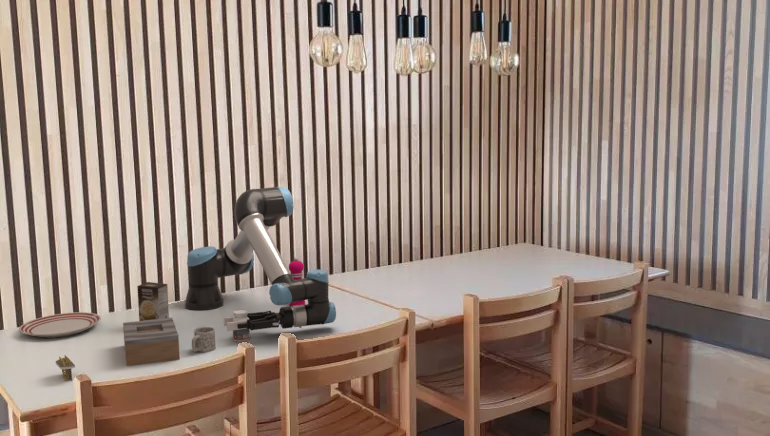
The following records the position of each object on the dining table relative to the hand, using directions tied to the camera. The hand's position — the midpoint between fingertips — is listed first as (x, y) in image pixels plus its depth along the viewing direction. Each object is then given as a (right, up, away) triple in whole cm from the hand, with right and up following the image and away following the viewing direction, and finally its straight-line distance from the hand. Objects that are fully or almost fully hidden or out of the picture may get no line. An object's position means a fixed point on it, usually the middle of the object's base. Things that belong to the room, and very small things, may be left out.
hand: (225, 324), depth 255 cm
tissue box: (-22, -8, -10) cm, 26 cm away
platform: (-41, -12, -32) cm, 53 cm away
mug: (-6, -8, -9) cm, 13 cm away
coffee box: (-30, -4, +19) cm, 36 cm away
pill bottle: (+5, -6, +3) cm, 8 cm away
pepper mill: (+19, +1, +47) cm, 51 cm away
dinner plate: (-64, -5, +17) cm, 66 cm away
